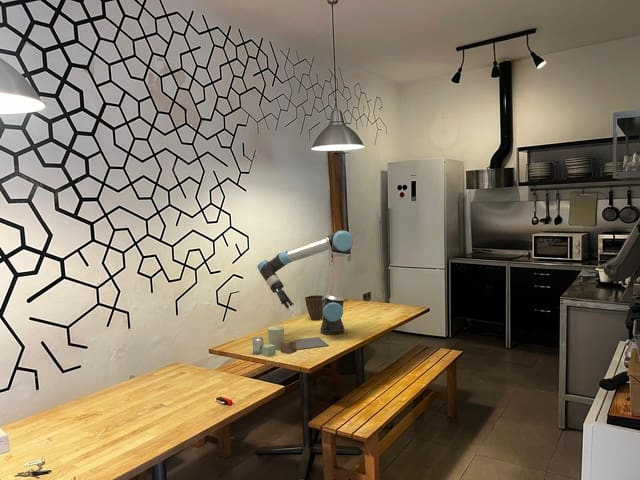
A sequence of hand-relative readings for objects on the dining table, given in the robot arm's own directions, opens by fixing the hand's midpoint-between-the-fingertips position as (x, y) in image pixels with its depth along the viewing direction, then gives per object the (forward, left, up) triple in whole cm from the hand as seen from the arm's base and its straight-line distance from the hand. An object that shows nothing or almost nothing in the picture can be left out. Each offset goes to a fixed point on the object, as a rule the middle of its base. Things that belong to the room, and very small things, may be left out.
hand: (294, 313), depth 272 cm
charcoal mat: (-6, +2, -18) cm, 19 cm away
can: (+12, +3, -18) cm, 22 cm away
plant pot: (-29, -58, -18) cm, 67 cm away
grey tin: (+23, +8, -18) cm, 30 cm away
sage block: (+18, +14, -18) cm, 29 cm away
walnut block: (+7, +13, -18) cm, 23 cm away
